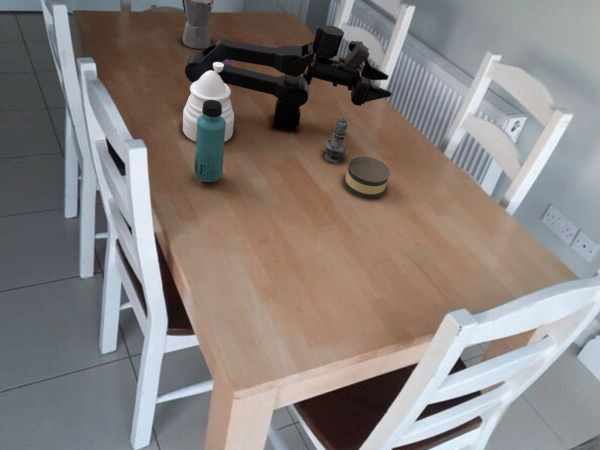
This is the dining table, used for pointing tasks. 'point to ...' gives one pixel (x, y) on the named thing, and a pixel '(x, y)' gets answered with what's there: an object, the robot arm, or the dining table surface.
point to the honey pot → (202, 91)
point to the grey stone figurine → (337, 143)
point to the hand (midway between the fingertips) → (389, 85)
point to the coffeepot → (197, 23)
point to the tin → (367, 177)
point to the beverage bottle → (210, 142)
